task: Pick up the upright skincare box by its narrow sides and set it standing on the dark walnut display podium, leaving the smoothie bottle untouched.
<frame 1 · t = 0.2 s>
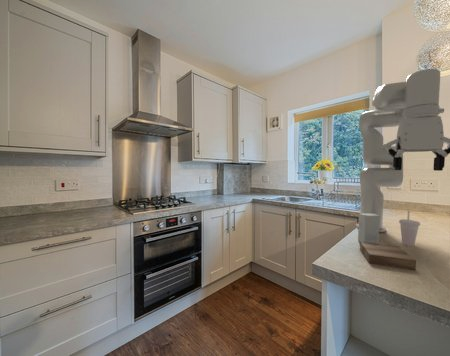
hand: (417, 170, 63), 31 cm above the countertop, tool pointing down, fingers open, 9 cm apart
smoothie: (408, 244, 84), on the countertop
podium: (384, 258, 70), on the countertop
skincare box: (367, 243, 86), on the countertop
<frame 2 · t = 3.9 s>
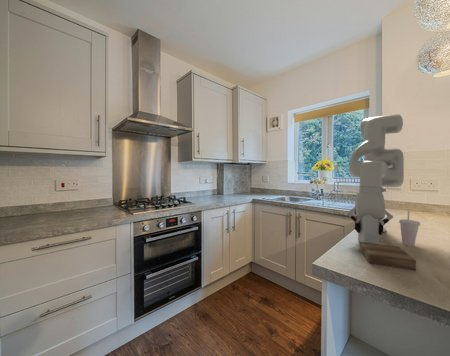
hand: (368, 232, 85), 4 cm above the countertop, tool pointing down, fingers closed on skincare box, 7 cm apart
skincare box: (367, 243, 86), on the countertop, touching gripper
everything else where it was.
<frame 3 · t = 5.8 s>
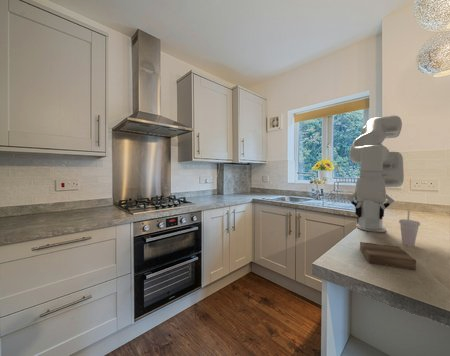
hand: (369, 217, 86), 11 cm above the countertop, tool pointing down, fingers closed on skincare box, 7 cm apart
skincare box: (368, 227, 86), point 6 cm above the countertop, touching gripper
everything else where it was.
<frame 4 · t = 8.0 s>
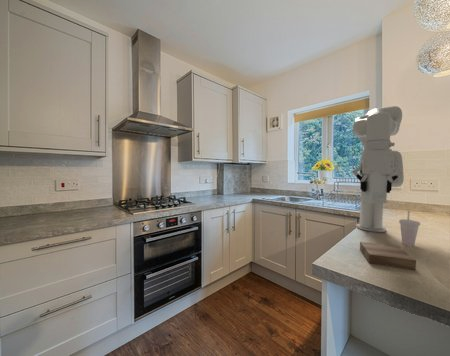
hand: (375, 191, 79), 22 cm above the countertop, tool pointing down, fingers closed on skincare box, 7 cm apart
skincare box: (374, 203, 79), point 18 cm above the countertop, touching gripper
everything else where it was.
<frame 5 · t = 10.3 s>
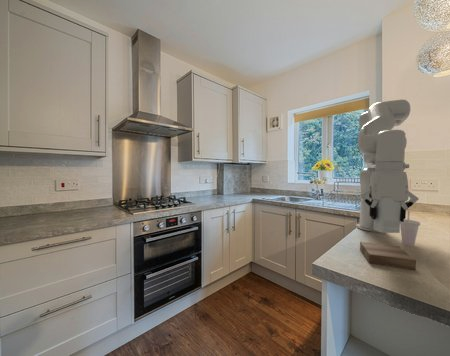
hand: (386, 219, 70), 14 cm above the countertop, tool pointing down, fingers closed on skincare box, 7 cm apart
skincare box: (386, 232, 70), point 9 cm above the countertop, touching gripper
everything else where it was.
when the fingers open (9 cm above the countertop, at t = 12.2 s): skincare box drops 1 cm, resting on podium.
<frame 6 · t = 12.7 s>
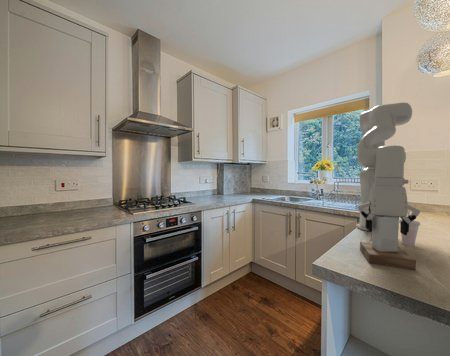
hand: (385, 232, 70), 9 cm above the countertop, tool pointing down, fingers open, 9 cm apart
skincare box: (384, 250, 70), point 3 cm above the countertop, touching podium
everything else where it was.
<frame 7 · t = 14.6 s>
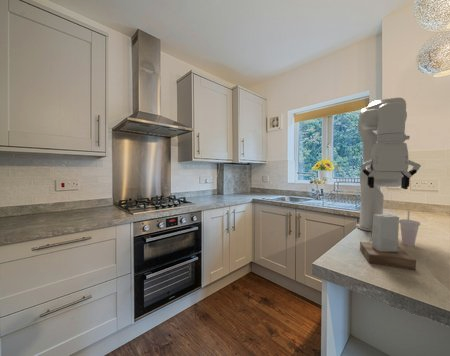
hand: (387, 188, 73), 24 cm above the countertop, tool pointing down, fingers open, 9 cm apart
nothing on the countertop moved.
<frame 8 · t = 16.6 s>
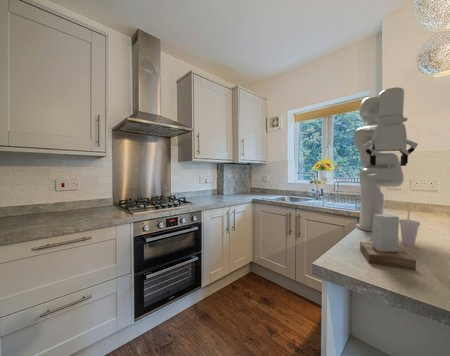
hand: (387, 165, 80), 32 cm above the countertop, tool pointing down, fingers open, 9 cm apart
nothing on the countertop moved.
at the end: skincare box inside the target area on the podium (0.3 cm from its centre), point 2.8 cm above the podium's base; skincare box tilted 0°; the gripper is holding nothing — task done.
